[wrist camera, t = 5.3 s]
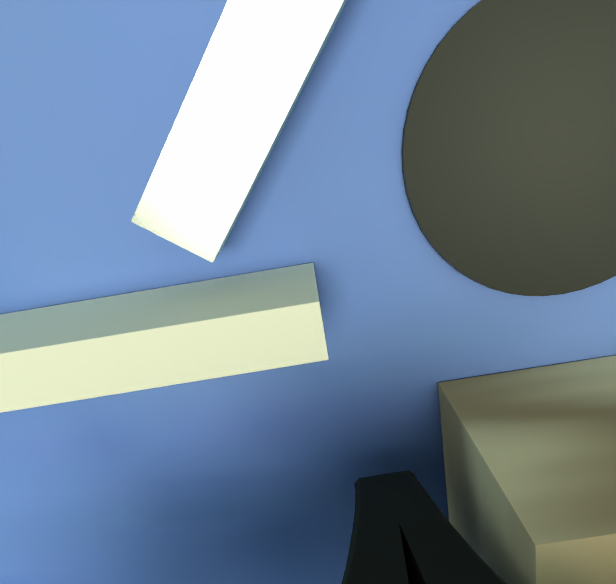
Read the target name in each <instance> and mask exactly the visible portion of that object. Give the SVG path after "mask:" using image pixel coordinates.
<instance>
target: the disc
mask: <svg viewBox="0 0 616 584" xmlns="http://www.w3.org/2000/svg"><path fill="white" fill-rule="evenodd" d="M402 167H403V177H404V183H405V188H406V194H407V197H408V200H409V203H410V206H411V209H412V212H413V214H414V216H415V219H416V221H417V223H418V225H419V227H420V229H421V231H422V232H423V234H424V235H425V237H426V238H427V240H428V241H429V243H430V244H431V245H432V246H433V248H434V249H435V250H436V251H437V252H438V253H439V254H440V255H441V257H442V258H443V259H445V260H446V261H447V262H448V263H449V264H451V265H452V266H453V267H454V268H455V269H456V270H458V271H459V272H461V273H462V274H464V275H465V276H467V277H469V278H470V279H472V280H474V281H476V282H478V283H480V284H482V285H485V286H487V287H489V288H492V289H495V290H499V291H502V292H506V293H511V294H518V295H525V296H549V295H558V294H565V293H569V292H573V291H578V290H582V289H585V288H588V287H590V286H593V285H596V284H599V283H601V282H603V281H605V280H607V279H609V278H612V277H614V276H616V0H482V1H480V2H479V3H478V4H476V5H475V6H474V7H472V8H471V9H470V10H469V11H468V12H467V13H466V14H465V15H464V16H463V17H462V18H461V19H460V20H459V21H458V22H457V23H456V24H455V25H454V26H453V27H452V28H451V29H450V31H449V32H448V33H447V34H446V36H445V37H444V38H443V39H442V41H441V42H440V43H439V44H438V46H437V47H436V49H435V51H434V52H433V54H432V55H431V57H430V59H429V60H428V62H427V63H426V65H425V67H424V69H423V71H422V73H421V76H420V78H419V80H418V82H417V84H416V86H415V89H414V92H413V95H412V98H411V101H410V104H409V107H408V111H407V116H406V121H405V126H404V131H403V144H402Z"/></svg>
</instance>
